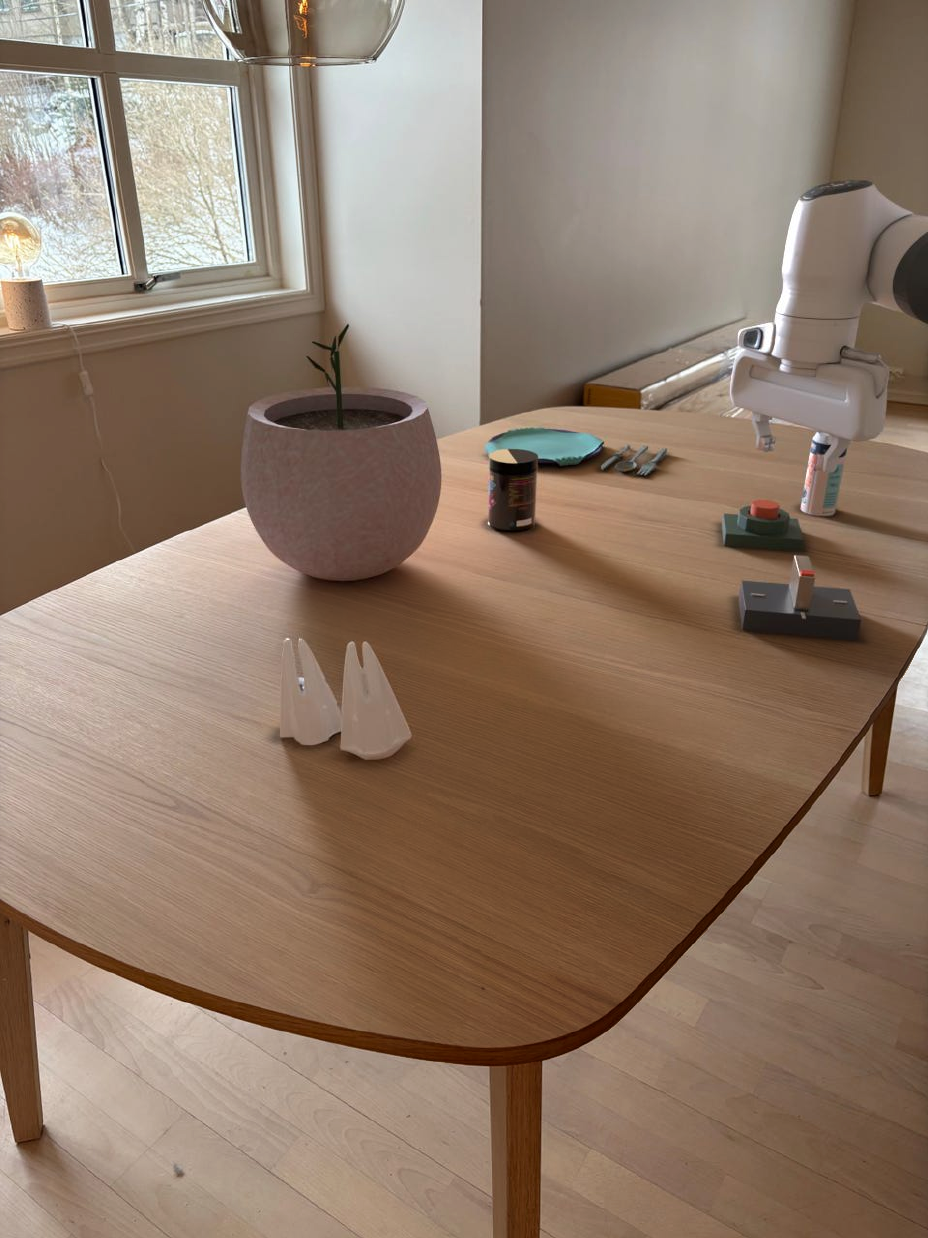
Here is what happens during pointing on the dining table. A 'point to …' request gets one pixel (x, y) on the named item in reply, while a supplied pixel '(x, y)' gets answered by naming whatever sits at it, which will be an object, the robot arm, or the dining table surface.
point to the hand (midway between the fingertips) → (794, 460)
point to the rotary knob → (801, 582)
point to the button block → (762, 531)
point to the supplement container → (512, 490)
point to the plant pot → (341, 476)
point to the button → (764, 509)
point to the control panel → (798, 611)
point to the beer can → (821, 480)
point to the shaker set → (366, 704)
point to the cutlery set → (564, 447)
